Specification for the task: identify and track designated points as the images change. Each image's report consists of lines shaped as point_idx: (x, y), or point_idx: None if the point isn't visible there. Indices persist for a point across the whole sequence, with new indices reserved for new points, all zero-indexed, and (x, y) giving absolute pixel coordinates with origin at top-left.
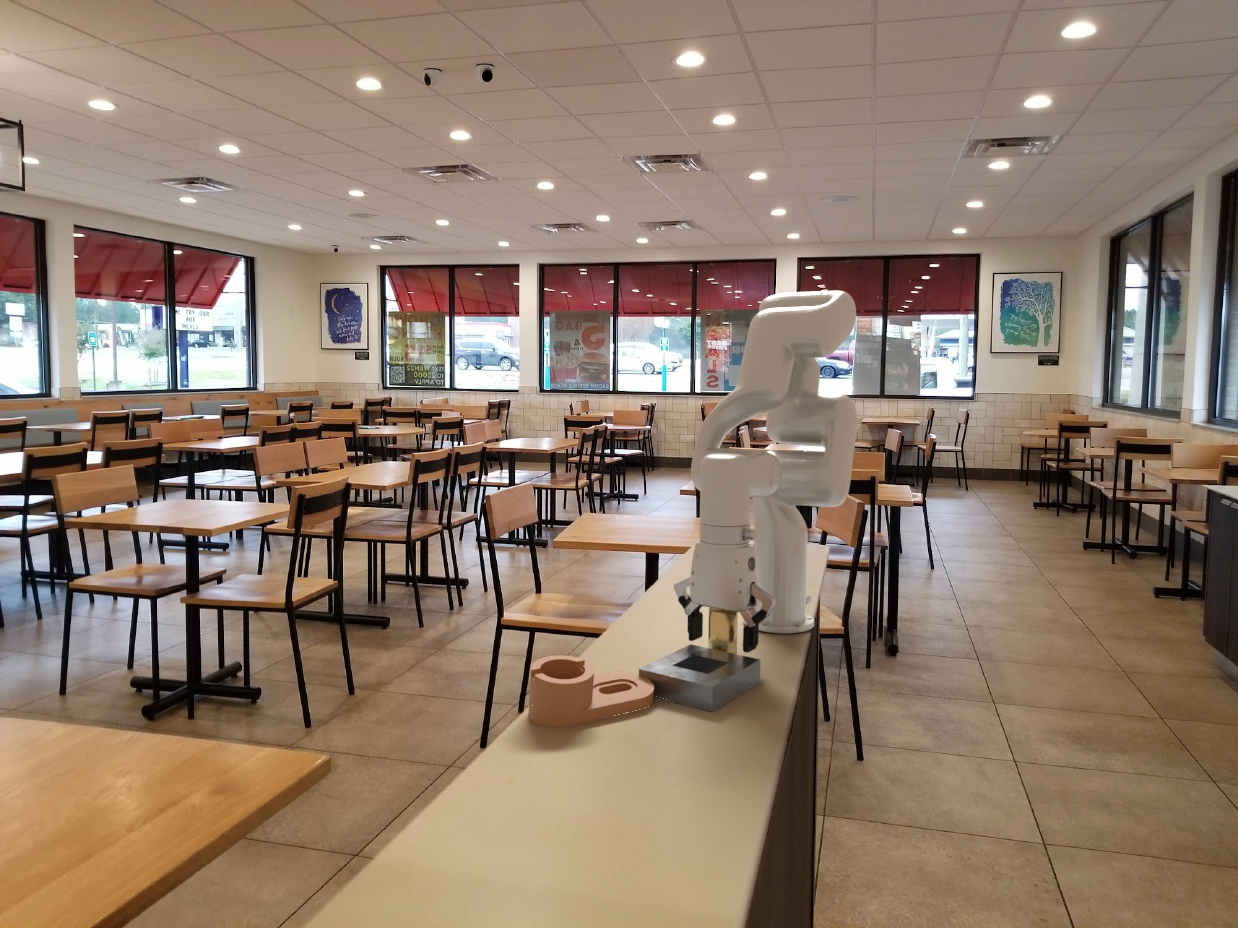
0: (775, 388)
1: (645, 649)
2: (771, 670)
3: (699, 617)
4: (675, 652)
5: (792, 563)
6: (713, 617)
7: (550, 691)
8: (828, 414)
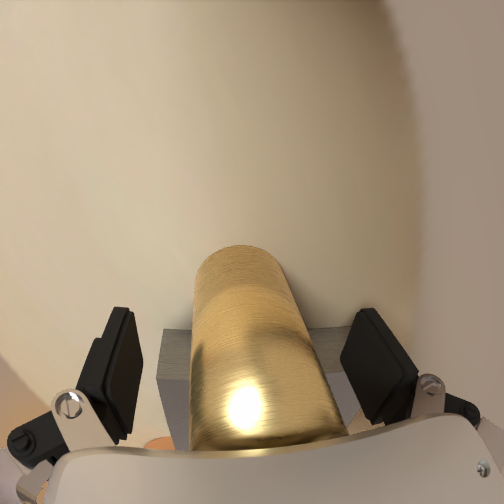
0: None
1: (5, 275)
2: (377, 239)
3: (119, 397)
4: (172, 424)
5: None
6: None
7: None
8: None
